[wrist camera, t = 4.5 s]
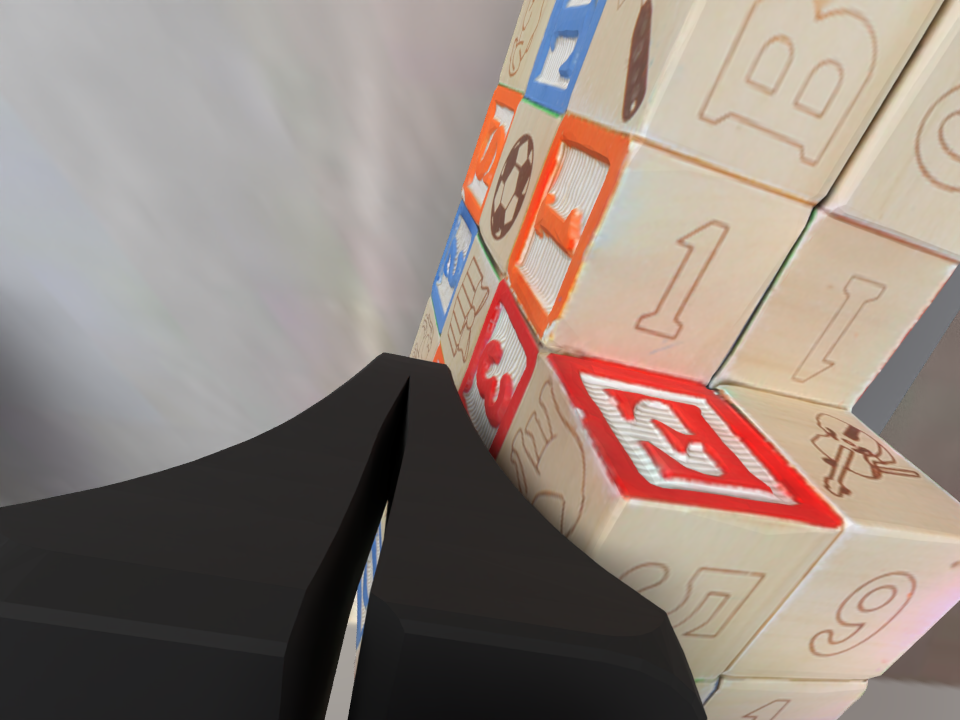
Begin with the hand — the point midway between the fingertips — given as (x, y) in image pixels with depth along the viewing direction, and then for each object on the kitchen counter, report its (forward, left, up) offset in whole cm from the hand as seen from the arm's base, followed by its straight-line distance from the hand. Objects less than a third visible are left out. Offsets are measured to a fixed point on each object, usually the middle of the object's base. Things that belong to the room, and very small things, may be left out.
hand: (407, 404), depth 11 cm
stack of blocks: (+3, +1, -8) cm, 9 cm away
